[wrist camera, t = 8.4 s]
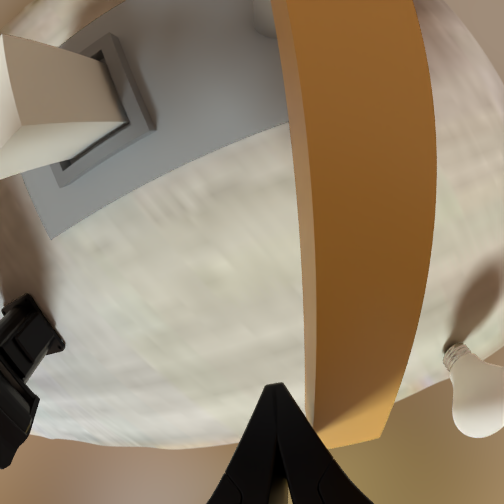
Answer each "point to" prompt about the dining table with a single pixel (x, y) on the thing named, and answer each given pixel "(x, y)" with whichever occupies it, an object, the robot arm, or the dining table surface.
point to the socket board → (167, 97)
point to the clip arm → (358, 200)
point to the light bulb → (475, 392)
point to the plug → (51, 104)
